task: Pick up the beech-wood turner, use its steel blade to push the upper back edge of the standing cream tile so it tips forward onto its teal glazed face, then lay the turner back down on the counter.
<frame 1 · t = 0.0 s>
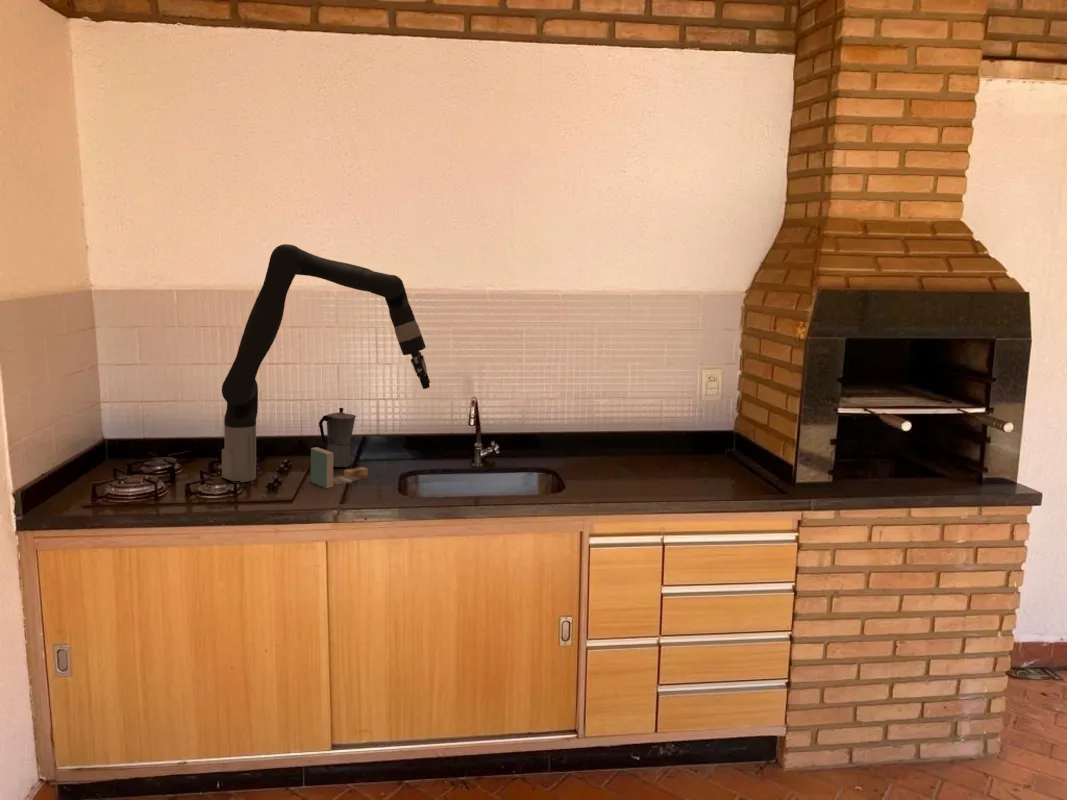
hand: (426, 386, 254), 31 cm above the counter, tool tilted 20°, fingers open, 8 cm apart
tile: (322, 467, 250), point 5 cm above the counter
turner: (355, 479, 260), on the counter
moka pot: (337, 466, 274), on the counter
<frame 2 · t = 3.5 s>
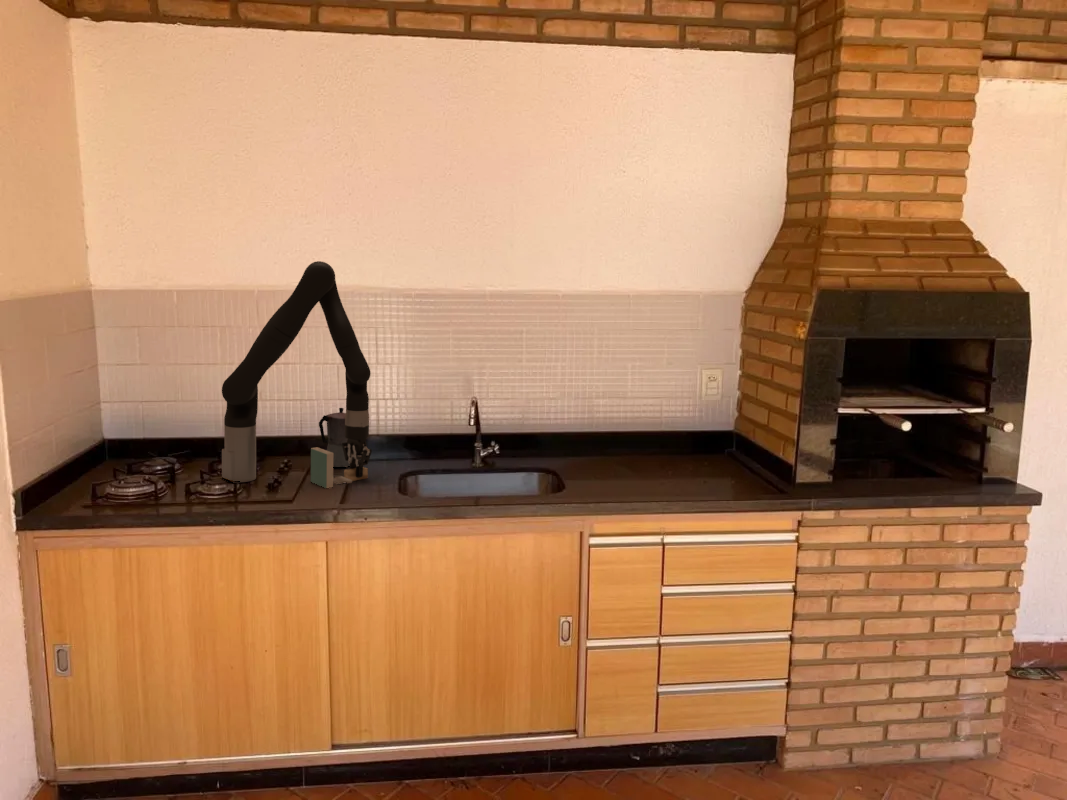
hand: (356, 475, 260), 1 cm above the counter, tool pointing down, fingers closed on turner, 2 cm apart
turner: (355, 478, 260), on the counter, touching gripper
everything else where it was.
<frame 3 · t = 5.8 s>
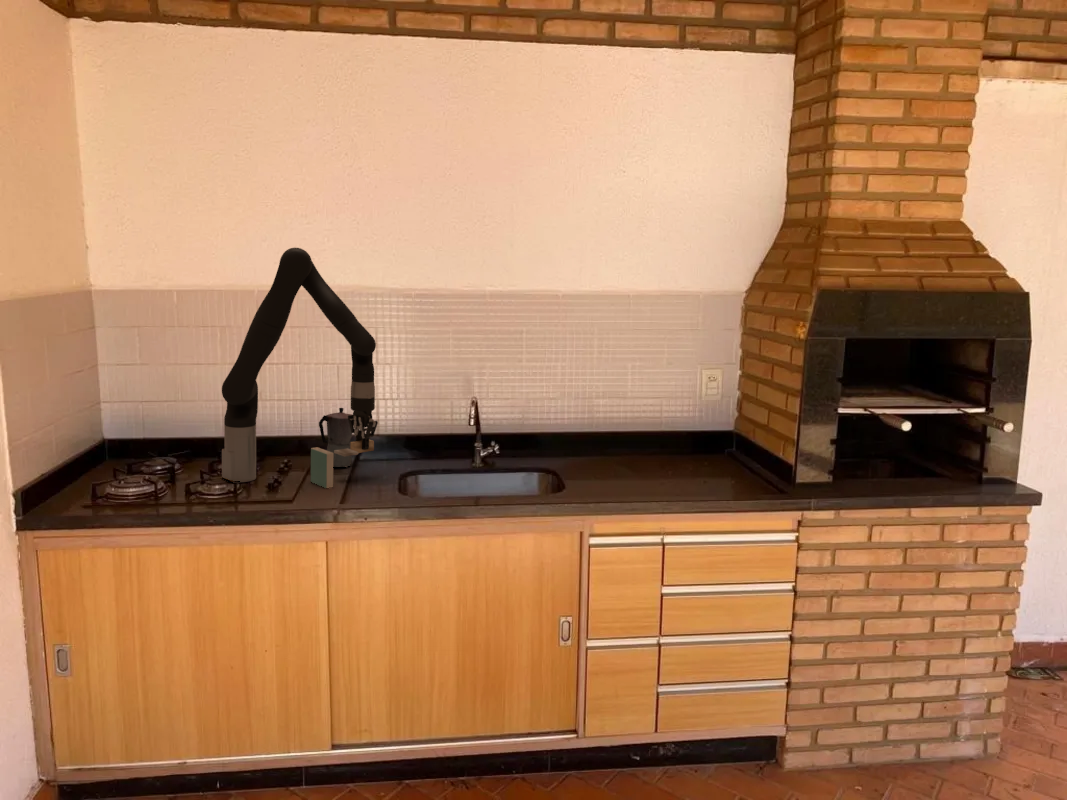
hand: (362, 448, 260), 10 cm above the counter, tool pointing down, fingers closed on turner, 2 cm apart
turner: (362, 451, 260), point 9 cm above the counter, touching gripper
everything else where it was.
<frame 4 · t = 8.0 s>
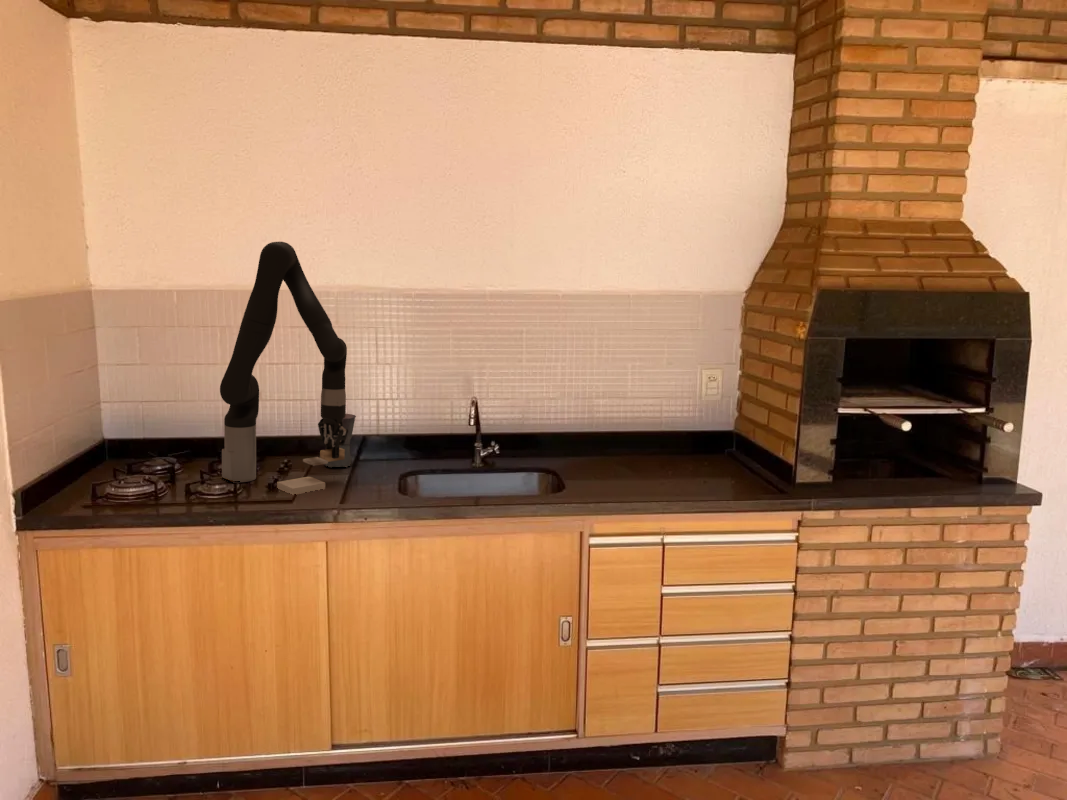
hand: (332, 456, 252), 8 cm above the counter, tool pointing down, fingers closed on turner, 2 cm apart
tile: (301, 485, 245), point 1 cm above the counter, tilted 90°
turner: (332, 459, 252), point 7 cm above the counter, touching gripper
everything else where it was.
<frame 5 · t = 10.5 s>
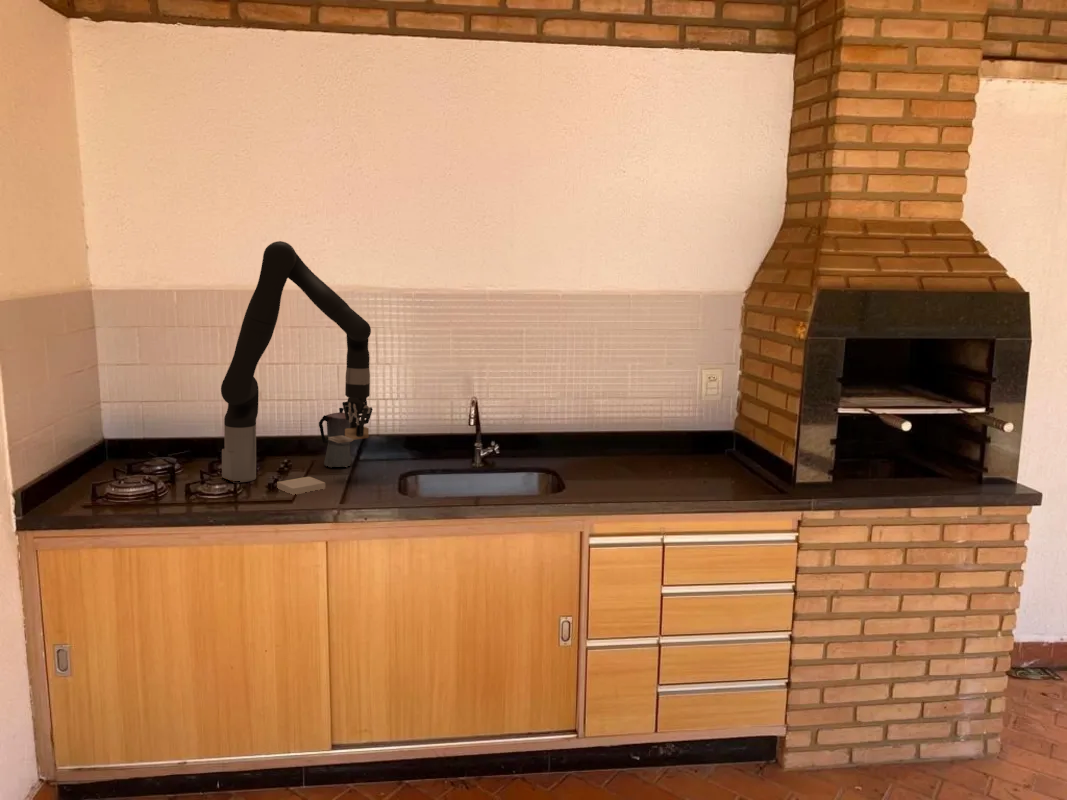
hand: (356, 435, 257), 14 cm above the counter, tool pointing down, fingers closed on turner, 2 cm apart
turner: (356, 438, 258), point 13 cm above the counter, touching gripper
everything else where it was.
when the fingers open (3 cm above the counter, at t = 12.8 s): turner drops 2 cm, on the counter.
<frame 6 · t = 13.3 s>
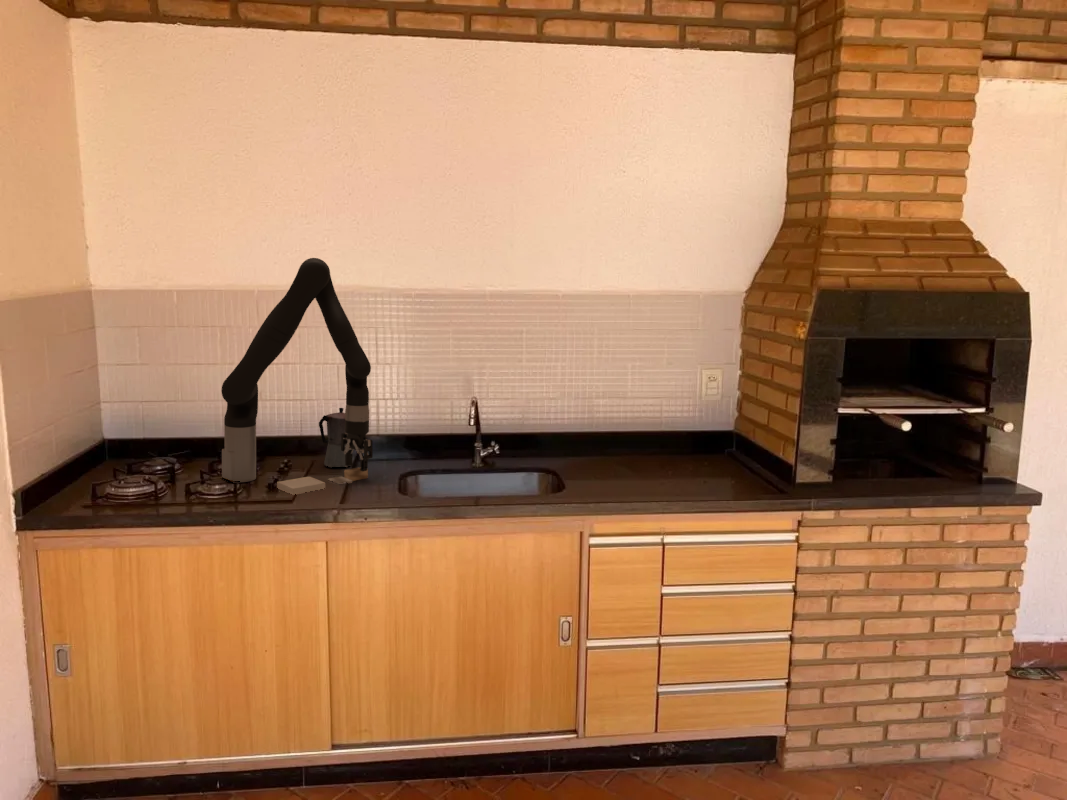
hand: (356, 468, 259), 4 cm above the counter, tool pointing down, fingers open, 8 cm apart
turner: (356, 479, 260), on the counter
everything else where it was.
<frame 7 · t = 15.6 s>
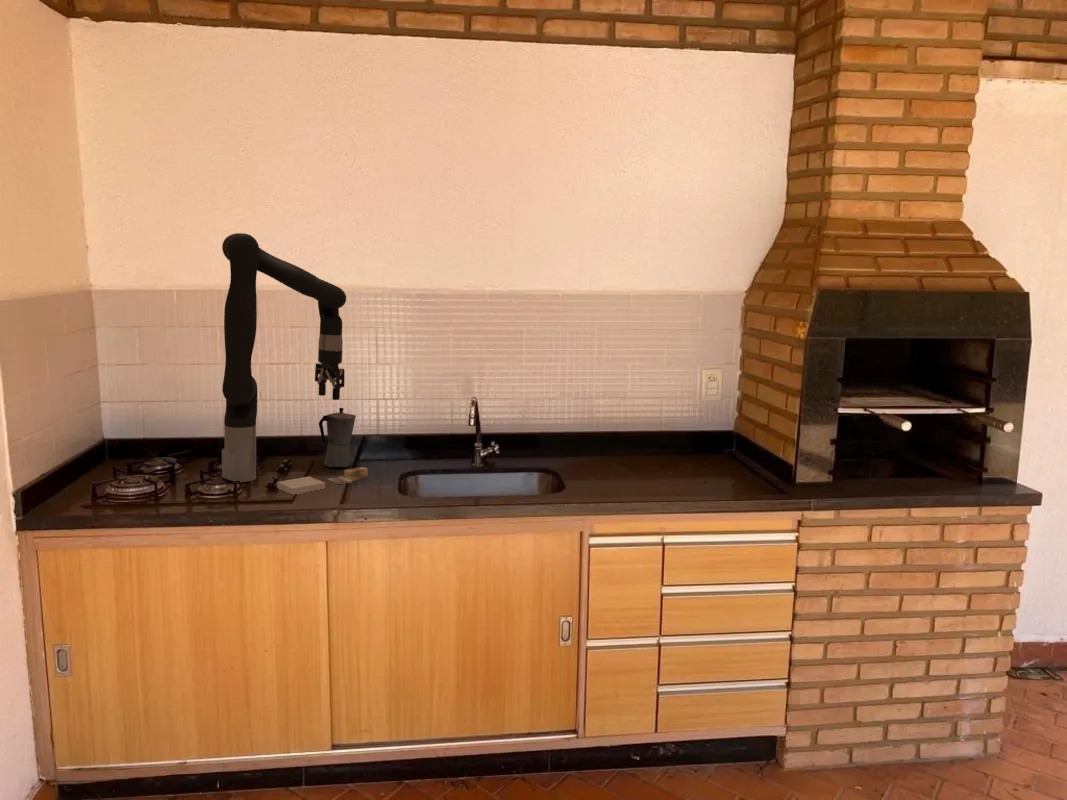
hand: (328, 397, 264), 25 cm above the counter, tool pointing down, fingers open, 8 cm apart
nothing on the counter moved.
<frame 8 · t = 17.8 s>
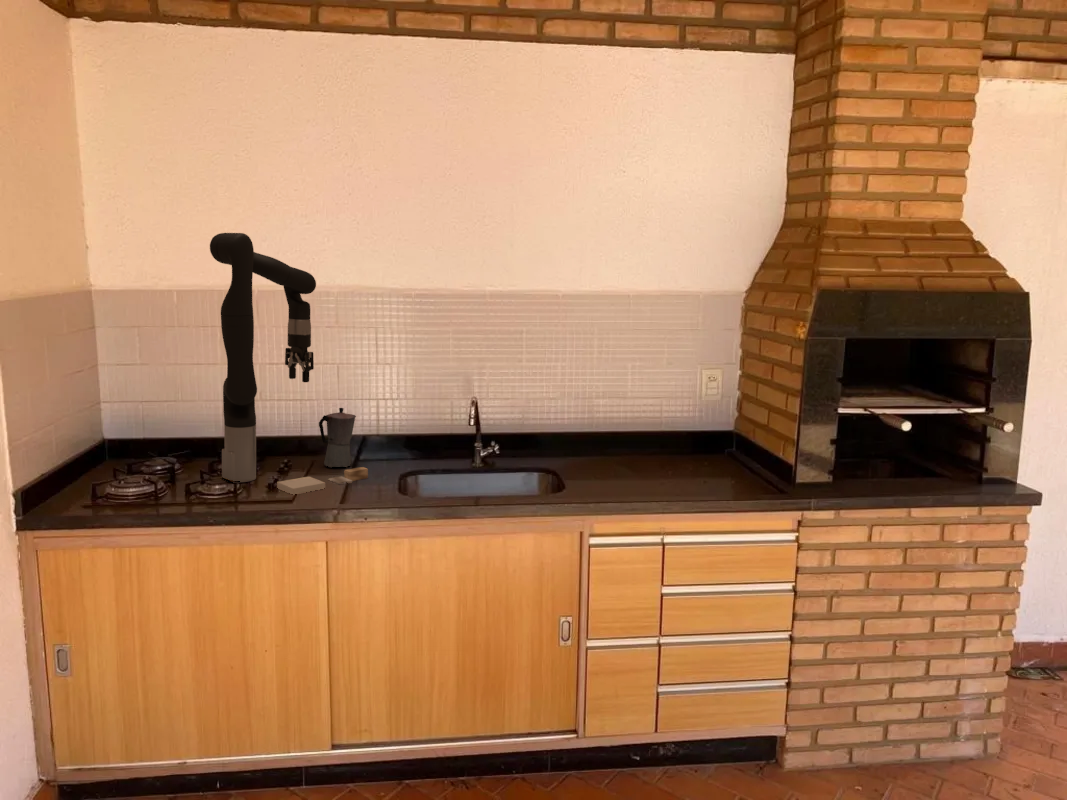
hand: (299, 380, 273), 28 cm above the counter, tool pointing down, fingers open, 8 cm apart
nothing on the counter moved.
at the end: tile inside the target area (0.2 cm from its centre), point 0.9 cm above the counter; tile tilted 90°; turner inside the target area (0.1 cm from its centre), on the counter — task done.
